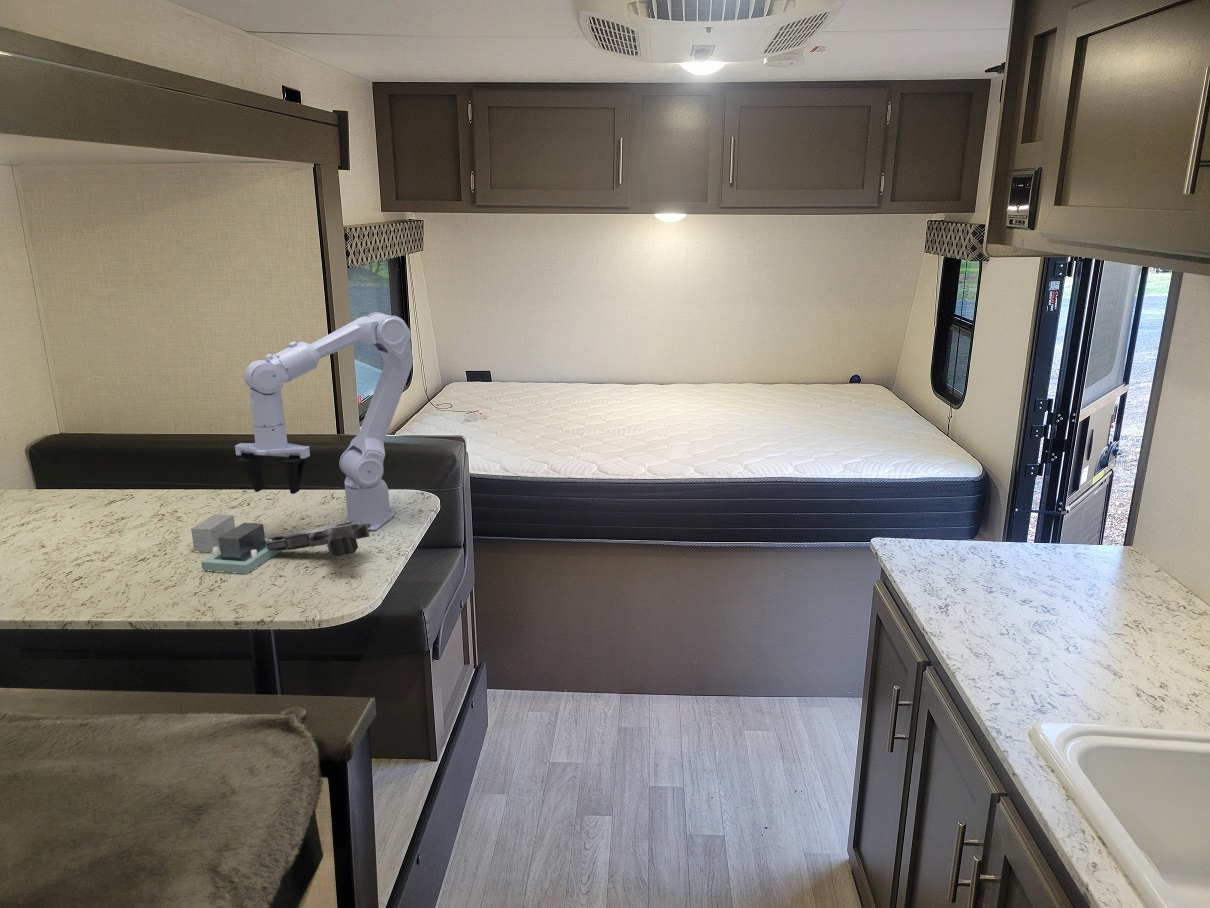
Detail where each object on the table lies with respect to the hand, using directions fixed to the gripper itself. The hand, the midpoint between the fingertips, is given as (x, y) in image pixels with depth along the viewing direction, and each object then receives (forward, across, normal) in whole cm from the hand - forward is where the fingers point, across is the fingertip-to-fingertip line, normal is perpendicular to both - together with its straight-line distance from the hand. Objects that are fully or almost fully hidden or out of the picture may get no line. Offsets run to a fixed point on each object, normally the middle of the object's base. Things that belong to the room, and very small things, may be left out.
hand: (277, 491), depth 164 cm
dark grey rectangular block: (+10, -2, -10) cm, 14 cm away
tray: (+10, -2, -10) cm, 14 cm away
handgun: (+8, +12, -10) cm, 18 cm away
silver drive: (+11, -12, -4) cm, 17 cm away
